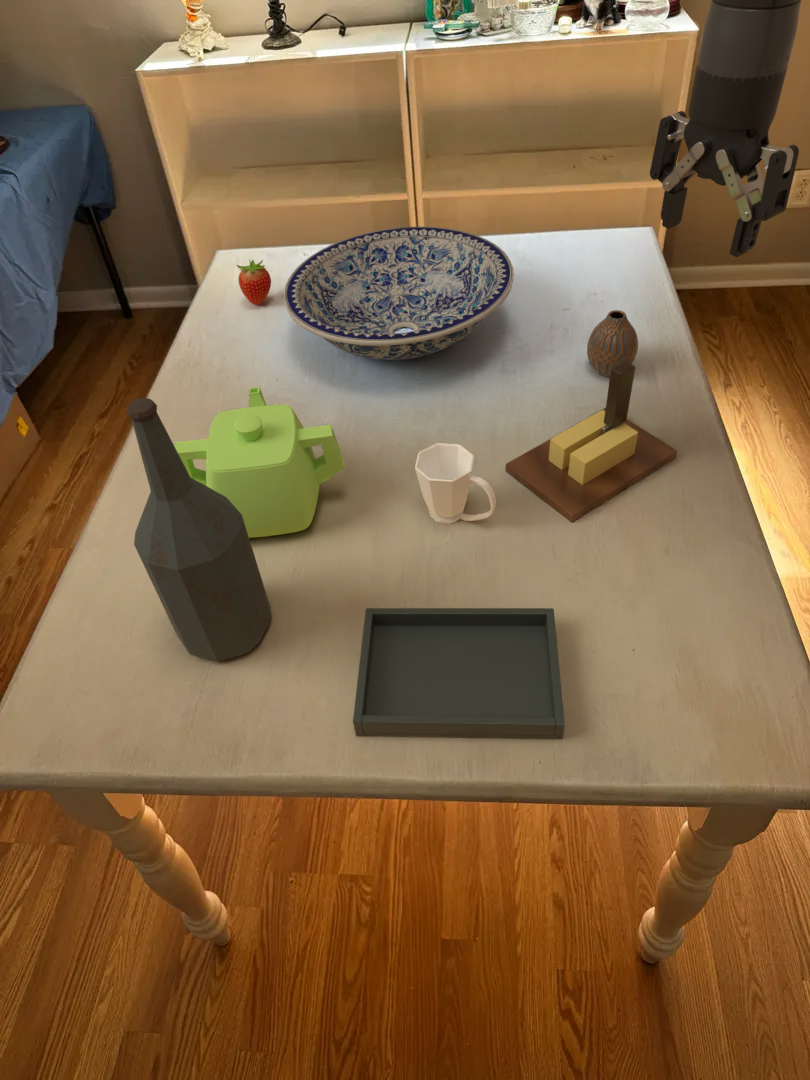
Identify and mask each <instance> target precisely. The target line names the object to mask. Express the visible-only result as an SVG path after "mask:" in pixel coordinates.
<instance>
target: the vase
mask: <svg viewBox="0 0 810 1080" xmlns="http://www.w3.org/2000/svg"><path fill="white" fill-rule="evenodd" d="M586 345H587V347H586V355H587V360H588V363H589V365H590V366H591V368H592V369H593V370H594V371H595V372H596V373H597V374H599V375H601V376H604V377H609V378H610V375H611V369H612V368H613V367H615V366H617V365H619V364H621V363H623V362H625V361H627V362H628V363H630V364H632V365H633V364H634V362H635V360H636V358H637V354H638V350H639V337H638V334H637V331H636V329H635V328H634V326H633V324H632V323H631V322H630V321H629V319H628V316H627V314H626V313H625V312H624V311H623V310H617V309H616V310H615V309H614V310H611V311H609V312H608V313H607V315H606V316H605V318H604V319H602V320H601V321H600V322H599V323H598V324H597V325H595V326H594V328H593V330H592V331H591V333H590V335H589V338H588V340H587V344H586Z"/></svg>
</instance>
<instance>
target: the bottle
mask: <svg viewBox="0 0 810 1080" xmlns="http://www.w3.org/2000/svg"><path fill="white" fill-rule="evenodd" d="M157 410H158V404H157V403H156V402H155V401H154V400H153V399H151V398H147V397H140V398H136V399H133V400H132V401H131V402H130V403H129V404H128V405H127V408H126V415H127V416H128V417H129V418H130V419H131V423H132V426H133V430H134V433H135V437H136V441H137V445H138V449H139V452H140V456H141V460H142V464H143V467H144V472H145V475H146V479H147V483H148V485H149V489H150V492H149V495H148V497H147V500H146V503H145V505H144V508H143V511H142V513H141V516H140V518H139V521H138V524H137V526H136V529H135V532H134V540H133V545H134V548H135V549H136V552H137V555H138V556H139V558H140V561H141V562H142V564H143V567H144V568H145V571H146V573H147V575H148V577H149V579H150V581H151V584H152V585H153V588H154V590H155V592H156V594H157V596H158V598H159V601H160V602H161V605H162V607H163V609H164V611H165V613H166V615H167V618H168V620H169V621H170V624H171V626H172V628H173V630H174V632H175V635H176V636H177V638H178V639H179V641H180V642H181V644H182V645H183V647H184V648H185V650H186V651H187V653H188V654H189V655H190V656H194V657H198V658H203V659H206V660H211V661H215V662H219V663H221V662H223V661H226V660H231V659H233V658H237V657H239V656H243V655H247V654H248V653H249V652H251V651H252V650H253V649H254V648H256V647H257V646H258V645H259V643H260V641H261V640H262V638H263V636H264V634H265V631H266V630H267V628H268V626H269V625H270V622H271V620H272V610H271V604H270V601H269V598H268V595H267V591H266V588H265V584H264V582H263V579H262V575H261V573H260V569H259V566H258V562H257V560H256V556H255V553H254V549H253V546H252V542H251V539H250V538H249V537H248V533H247V530H246V527H245V524H244V521H243V517H242V514H241V513H240V512H239V511H238V510H237V509H236V508H235V506H234V505H233V504H232V503H231V502H230V501H229V500H228V499H227V497H225V496H223V495H222V494H220V493H218V492H216V491H214V490H212V489H211V488H209V487H207V486H205V485H203V484H202V483H200V482H198V481H196V480H194V479H193V478H191V477H190V476H189V474H188V472H187V470H186V468H185V466H184V464H183V462H182V460H181V458H180V456H179V454H178V452H177V450H176V448H175V446H174V442H173V441H172V439H171V437H170V435H169V433H168V431H167V429H166V426H164V423H163V422H162V419H161V417H160V415H159V414H158V411H157Z"/></svg>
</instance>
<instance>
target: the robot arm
mask: <svg viewBox="0 0 810 1080" xmlns="http://www.w3.org/2000/svg"><path fill="white" fill-rule="evenodd" d="M801 4H802V0H710V4H709V7H708V11H707V14H706V17H705V21H704V24H703V27H702V28H703V29H702V33H701V38H700V43H699V44H700V45H699V49H698V54H697V60H696V65H695V71H694V76H693V82H692V88H691V93H690V100H689V105H688V109H687V111H688V112H687V113H688V114H687V113H686V112H685V111H683V110H679V111H677V112H674V113H671V114H669V115H667V116H664V117H662V118H661V119H660V121H659V123H658V130H657V135H656V140H655V144H654V150H653V154H652V158H651V159H652V160H651V163H650V169H649V176H650V179H652V180H653V181H656V180H657V181H659V182H660V183H661V184H662V189H663V190H664V192H663V198H662V203H661V210H660V220H662V221H661V222H662V224H661V226H662V228H663V227H664V228H665V229H668V230H670V229H672V228H674V227H676V226H679V224H681V222H682V220H683V219H682V218H683V214H684V209H685V202H686V199H687V193H688V189H689V188H688V187H687V186H685V184H687V183H688V182H689V181H690V180H691V179H692V178H693V177H694V176H695V175H696V174H697V175H696V176H697V177H698V178H699V179H702V180H711V181H713V182H714V183H715V184H717V185H718V186H721V187H724V186H726V188H727V191H728V195H729V197H730V199H731V200H733V201H734V202H735V204H736V207H737V210H738V214H739V216H740V217H739V218H737V221H736V225H735V228H734V234H733V237H732V241H731V246H730V249H729V255H731V256H733V257H735V258H739V257H741V256H743V255H744V254H746V253H748V252H749V251H751V250H753V248H754V247H755V245H756V243H757V241H758V240H757V239H758V235H759V232H760V228H761V224H762V222H767V221H768V220H771V219H772V218H774V217H776V216H778V215H780V214H783V213H784V212H786V209H787V207H788V202H789V198H790V194H791V193H790V192H791V188H792V184H793V180H794V175H795V173H796V172H795V171H796V167H797V163H798V162H797V161H798V158H799V154H800V150H799V147H798V145H795V144H790V145H788V146H785V147H781V146H777V145H772V144H770V139H769V131H770V128H771V125H772V123H773V121H774V119H775V117H776V114H777V110H778V106H779V102H780V98H781V95H782V94H781V93H782V91H783V86H784V82H785V78H786V75H787V71H788V68H789V62H790V60H791V55H792V52H793V49H794V44H795V40H796V36H797V30H798V25H799V17H800V9H801ZM687 115H688V117H689V118H687ZM683 139H684V142H685V145H686V148H687V154H685V155H684V156H683V157H682V159H680V160H679V162H678V163H677V161H678V158H679V154H680V149H681V144H682V140H683ZM761 161H763V163H764V166H763V168H762V170H761V166H760V162H761ZM762 172H763V173H764V174H765V173H766V174H765V177H764V176H763V173H762ZM745 176H746V181H747V182H746V183H745V184H744V183H743V182H742V179H743V178H744V177H745Z"/></svg>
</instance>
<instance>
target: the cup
mask: <svg viewBox="0 0 810 1080" xmlns="http://www.w3.org/2000/svg"><path fill="white" fill-rule="evenodd" d="M474 458H475V455H474V454H473V453H471V452H470V451H469V450H468V449H467V448H465V447H464V446H463V445H461V444H460V443H446V442H436V443H434V444H432V445H430V446H428V447H426V448H424V449H422V450H421V451H419V452H418V453H417V458H416V461H415V466H414V471H415V473H416V478H417V480H418V484H419V487H420V491H421V495H422V497H423V500H424V502H425V505H426V507H427V509H428V510H429V512H428V516H429V517H431V518H432V520H434V521H435V522H436V523H437V524H446V525H447V524H450V525H451V524H454V523H456V522H457V521H459V520H462V521H465V522H475V521H481V520H484V519H487V518H488V517H490V516H492V514H493V513H494V512H495V510H496V507H497V503H496V502H497V501H496V500H497V499H496V496H495V495H496V494H495V493H494V489H493V488H492V486H491V485H490V484H489V483H488V481H486V480H484V479H483V478H480V477H479V476H476V475H473V474H472V471H473V466H474V460H475V459H474ZM470 484H472V485H475V486H480V488H482V489H483V491H485V493H486V494H487V496H488V500H489V504H490V510H488V511H486V512H482V513H478V514H466V513H464V511H465V507H466V503H467V500H468V493H469V489H470Z"/></svg>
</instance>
